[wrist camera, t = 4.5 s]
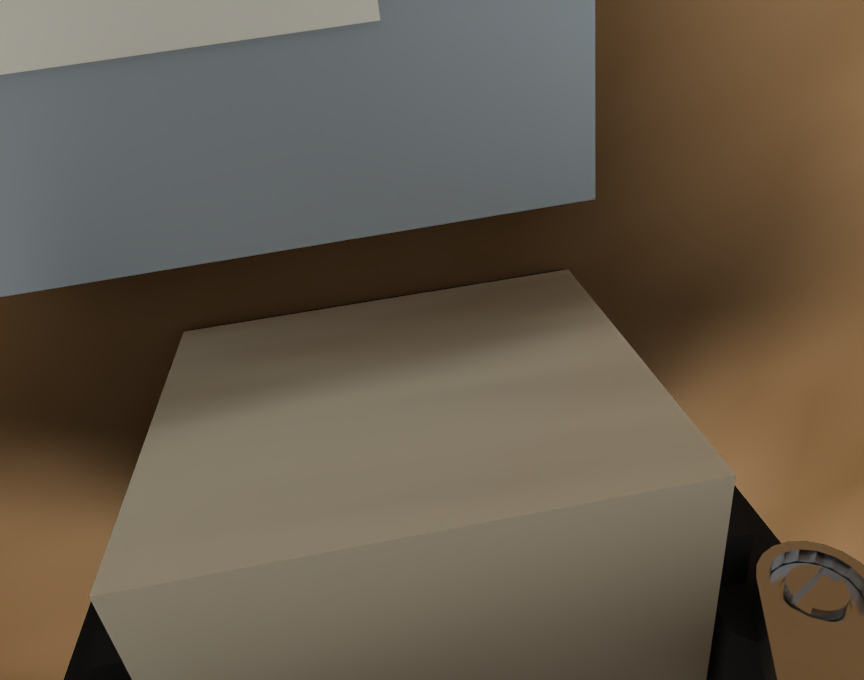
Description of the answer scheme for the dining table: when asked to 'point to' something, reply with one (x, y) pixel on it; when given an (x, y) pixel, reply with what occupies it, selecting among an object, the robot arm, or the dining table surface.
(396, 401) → the block base
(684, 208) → the dining table surface
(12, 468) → the dining table surface
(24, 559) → the dining table surface
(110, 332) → the dining table surface
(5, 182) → the plate
